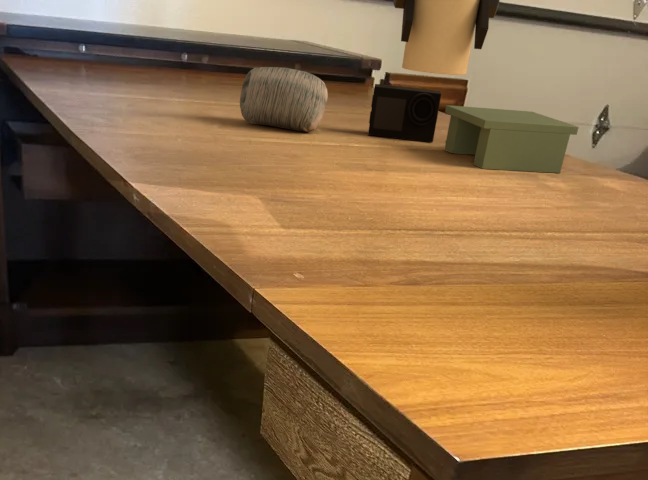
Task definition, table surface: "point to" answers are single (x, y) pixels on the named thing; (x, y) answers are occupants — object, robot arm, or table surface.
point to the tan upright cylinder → (441, 36)
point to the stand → (508, 138)
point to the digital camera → (404, 112)
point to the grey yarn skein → (283, 98)
